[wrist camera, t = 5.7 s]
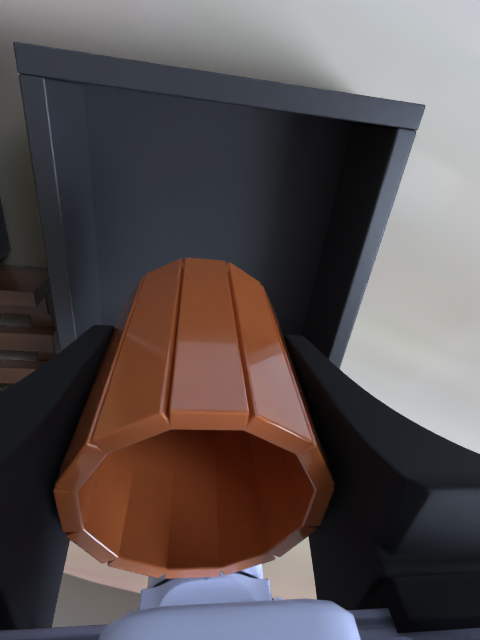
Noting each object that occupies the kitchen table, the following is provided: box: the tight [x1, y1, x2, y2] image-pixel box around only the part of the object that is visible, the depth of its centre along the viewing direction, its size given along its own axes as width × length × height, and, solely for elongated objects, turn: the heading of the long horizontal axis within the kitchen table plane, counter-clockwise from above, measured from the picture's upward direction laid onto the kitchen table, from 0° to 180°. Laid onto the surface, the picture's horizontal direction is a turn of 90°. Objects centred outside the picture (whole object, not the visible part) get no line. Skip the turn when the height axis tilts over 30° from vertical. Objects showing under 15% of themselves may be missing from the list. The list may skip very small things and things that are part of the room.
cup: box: [53, 257, 335, 579], centre depth 10 cm, size 6×6×7 cm
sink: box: [13, 42, 425, 369], centre depth 18 cm, size 16×14×5 cm
